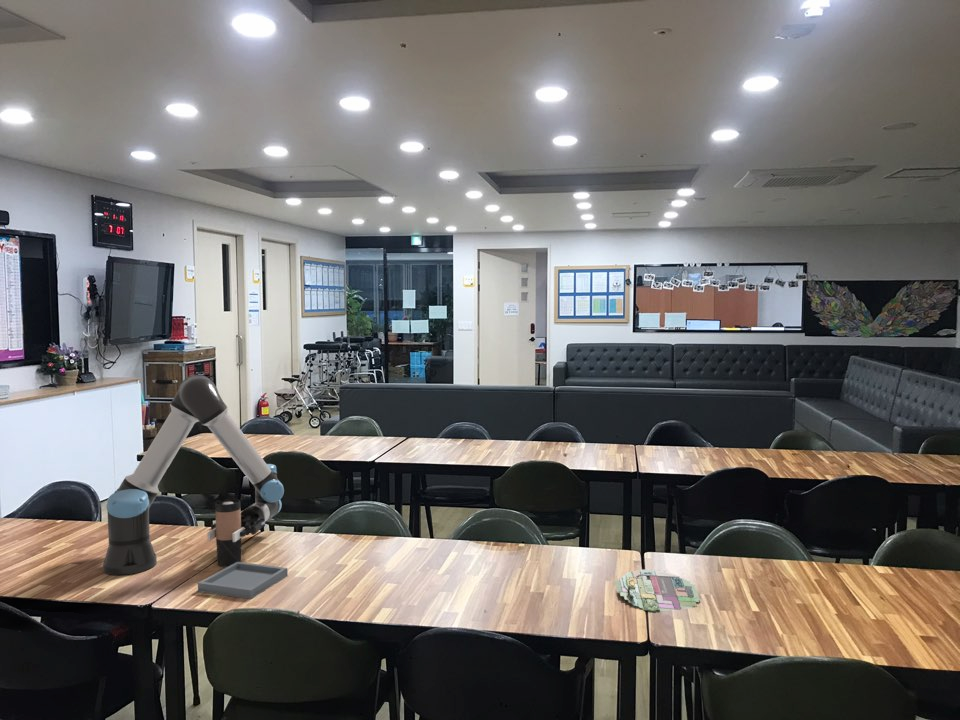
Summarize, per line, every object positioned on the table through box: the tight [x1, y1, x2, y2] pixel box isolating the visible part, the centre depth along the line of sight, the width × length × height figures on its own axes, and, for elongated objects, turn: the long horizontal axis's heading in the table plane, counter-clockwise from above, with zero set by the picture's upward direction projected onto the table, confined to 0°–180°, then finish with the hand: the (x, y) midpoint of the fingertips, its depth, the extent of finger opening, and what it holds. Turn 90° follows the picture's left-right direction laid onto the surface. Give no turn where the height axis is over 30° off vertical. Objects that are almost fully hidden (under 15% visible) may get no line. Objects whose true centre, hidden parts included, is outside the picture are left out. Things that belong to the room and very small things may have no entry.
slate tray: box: [197, 561, 289, 600], centre depth 208 cm, size 18×18×2 cm
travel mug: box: [215, 498, 242, 568], centre depth 225 cm, size 8×8×20 cm
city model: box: [615, 569, 701, 613], centre depth 198 cm, size 25×23×6 cm
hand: (221, 537), depth 220 cm, fingers closed on travel mug, 8 cm apart
